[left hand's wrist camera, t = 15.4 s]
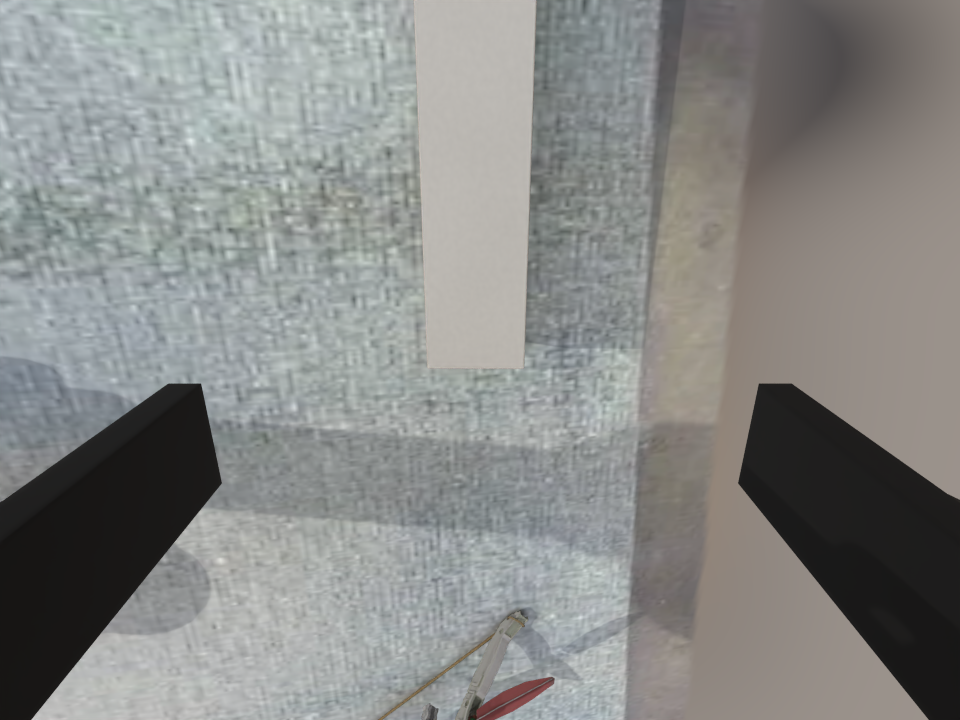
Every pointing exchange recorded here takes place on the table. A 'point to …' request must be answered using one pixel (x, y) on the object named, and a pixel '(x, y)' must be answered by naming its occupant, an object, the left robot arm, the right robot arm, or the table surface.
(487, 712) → the bow
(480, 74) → the post
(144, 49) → the table surface
